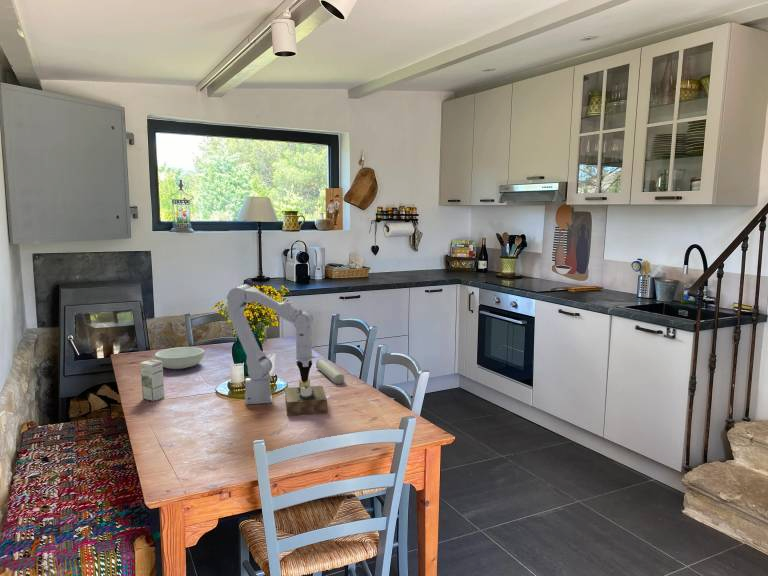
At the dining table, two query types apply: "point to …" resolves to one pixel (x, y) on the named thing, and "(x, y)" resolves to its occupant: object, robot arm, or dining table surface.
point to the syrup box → (152, 379)
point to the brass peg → (303, 383)
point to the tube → (330, 371)
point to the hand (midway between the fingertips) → (304, 380)
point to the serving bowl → (180, 357)
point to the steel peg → (306, 392)
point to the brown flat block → (305, 401)
